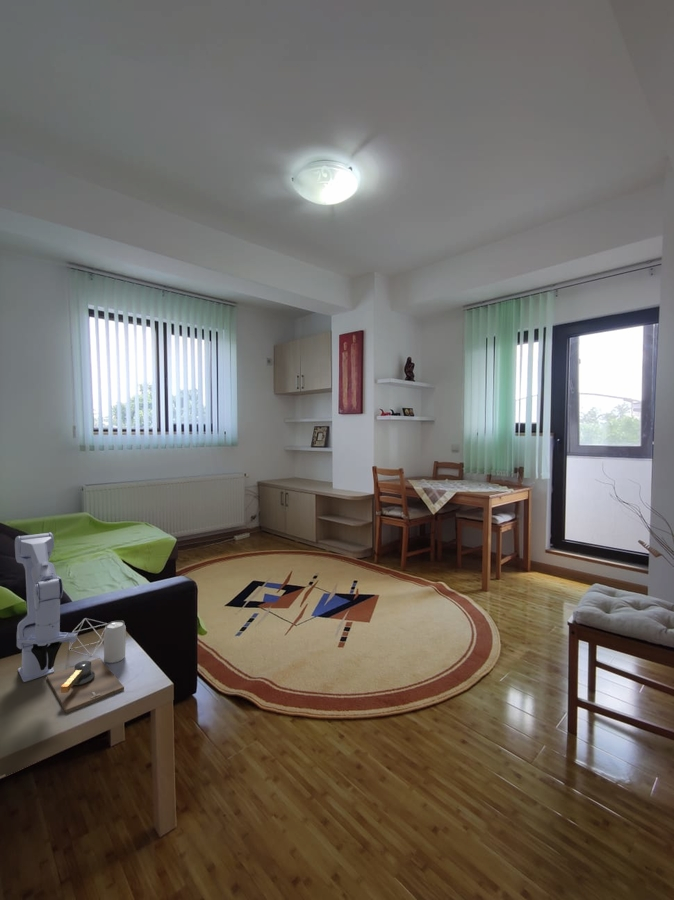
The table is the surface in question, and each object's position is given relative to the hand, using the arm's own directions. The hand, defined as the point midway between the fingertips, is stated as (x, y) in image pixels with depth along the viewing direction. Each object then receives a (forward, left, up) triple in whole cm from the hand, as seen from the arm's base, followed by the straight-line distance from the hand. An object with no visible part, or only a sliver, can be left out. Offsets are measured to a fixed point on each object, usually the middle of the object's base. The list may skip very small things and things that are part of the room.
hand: (47, 667), depth 118 cm
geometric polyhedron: (-23, +17, -10) cm, 30 cm away
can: (-10, +21, -10) cm, 25 cm away
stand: (-1, +10, -9) cm, 14 cm away
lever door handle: (0, +7, -8) cm, 11 cm away
